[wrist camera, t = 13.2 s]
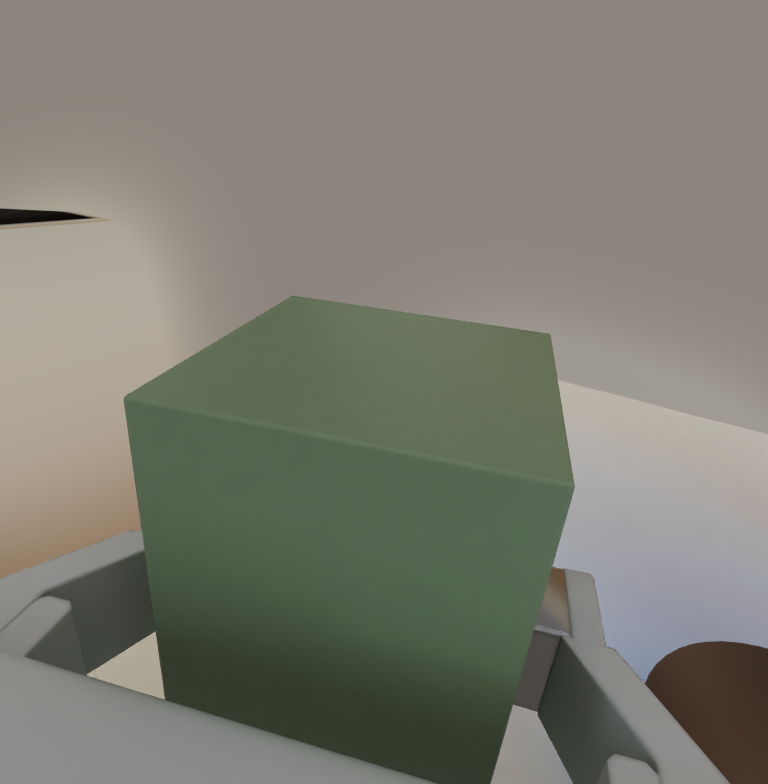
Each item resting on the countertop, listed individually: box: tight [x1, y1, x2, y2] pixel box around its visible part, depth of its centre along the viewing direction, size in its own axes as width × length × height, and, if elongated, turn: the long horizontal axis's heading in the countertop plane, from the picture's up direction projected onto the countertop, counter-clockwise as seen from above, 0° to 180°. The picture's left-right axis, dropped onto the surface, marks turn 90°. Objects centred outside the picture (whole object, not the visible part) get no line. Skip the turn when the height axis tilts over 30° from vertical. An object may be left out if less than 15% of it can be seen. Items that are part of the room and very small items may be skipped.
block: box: [124, 296, 575, 784], centre depth 10 cm, size 5×5×10 cm
